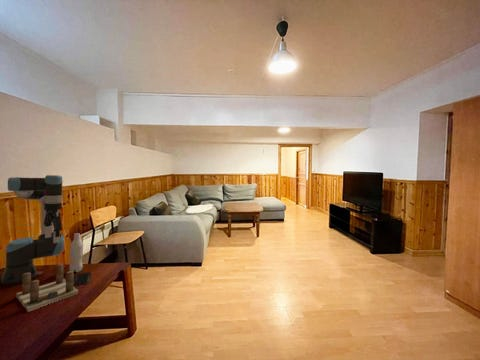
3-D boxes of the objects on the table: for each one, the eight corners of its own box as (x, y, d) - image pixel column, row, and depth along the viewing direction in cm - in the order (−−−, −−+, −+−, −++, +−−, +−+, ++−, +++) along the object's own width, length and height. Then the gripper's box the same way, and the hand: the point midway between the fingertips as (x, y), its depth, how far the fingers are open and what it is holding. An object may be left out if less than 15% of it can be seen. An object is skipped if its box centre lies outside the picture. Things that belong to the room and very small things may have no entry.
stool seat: (16, 297, 114) (17, 274, 113) (63, 282, 130) (64, 262, 130) (28, 312, 103) (28, 286, 102) (78, 293, 119) (78, 272, 119)
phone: (91, 272, 143) (89, 282, 130) (90, 273, 143) (89, 284, 130) (76, 274, 139) (72, 285, 126) (75, 276, 139) (72, 287, 126)
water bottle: (79, 268, 150) (80, 231, 149) (84, 270, 146) (85, 233, 145) (66, 271, 144) (68, 233, 143) (72, 274, 140) (73, 235, 139)
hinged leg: (29, 300, 107) (29, 281, 107) (56, 292, 115) (57, 274, 115) (30, 303, 105) (30, 284, 105) (58, 295, 113) (58, 277, 112)
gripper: (37, 200, 128) (36, 236, 128) (52, 205, 114) (51, 246, 115) (53, 199, 134) (52, 234, 135) (70, 204, 120) (68, 243, 121)
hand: (52, 240), depth 125 cm, fingers open, 13 cm apart
